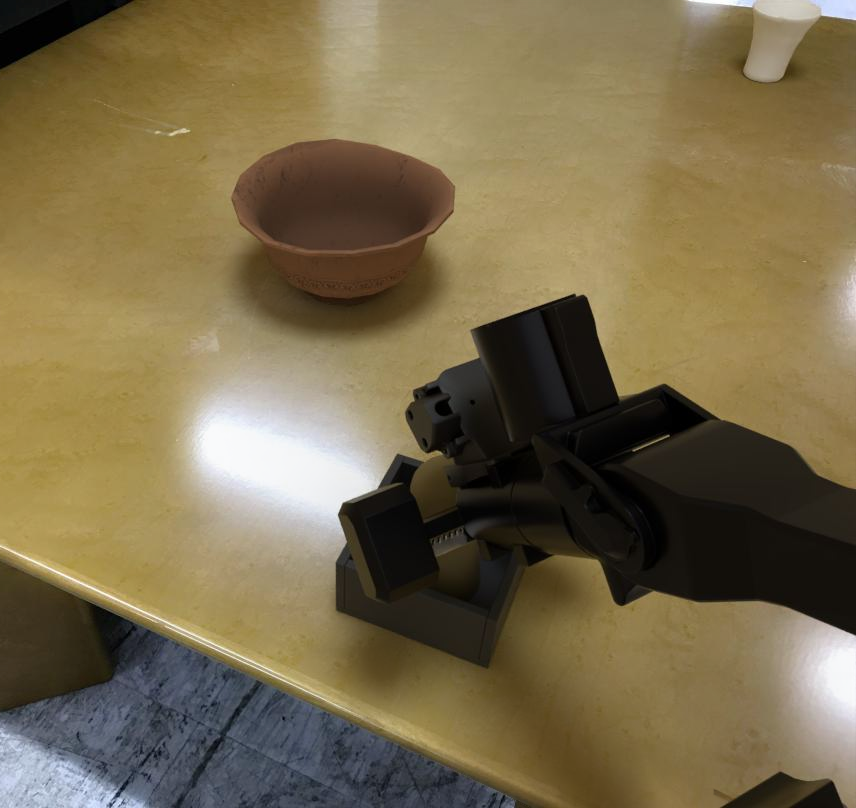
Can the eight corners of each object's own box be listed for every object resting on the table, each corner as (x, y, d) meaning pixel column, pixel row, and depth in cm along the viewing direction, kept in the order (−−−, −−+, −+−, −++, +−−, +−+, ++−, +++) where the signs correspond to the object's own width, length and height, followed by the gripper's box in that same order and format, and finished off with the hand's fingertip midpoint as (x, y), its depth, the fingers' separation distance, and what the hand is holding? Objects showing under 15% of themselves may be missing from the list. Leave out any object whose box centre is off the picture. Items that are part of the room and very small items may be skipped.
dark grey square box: (532, 548, 69) (544, 499, 65) (487, 669, 61) (497, 622, 57) (394, 501, 72) (397, 452, 69) (335, 609, 65) (335, 562, 61)
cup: (725, 81, 130) (747, 10, 123) (740, 59, 135) (761, -11, 129) (790, 94, 126) (816, 21, 119) (803, 70, 132) (828, 0, 125)
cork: (480, 613, 64) (499, 512, 56) (395, 605, 64) (402, 504, 57) (480, 546, 68) (497, 444, 61) (400, 538, 69) (407, 437, 61)
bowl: (385, 208, 106) (388, 120, 98) (489, 308, 91) (502, 213, 84) (209, 256, 99) (199, 165, 92) (291, 372, 84) (286, 275, 77)
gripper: (645, 309, 51) (506, 350, 65) (354, 414, 45) (274, 433, 60) (709, 494, 51) (556, 494, 66) (427, 624, 45) (329, 591, 60)
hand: (433, 499), depth 63 cm, fingers open, 9 cm apart
